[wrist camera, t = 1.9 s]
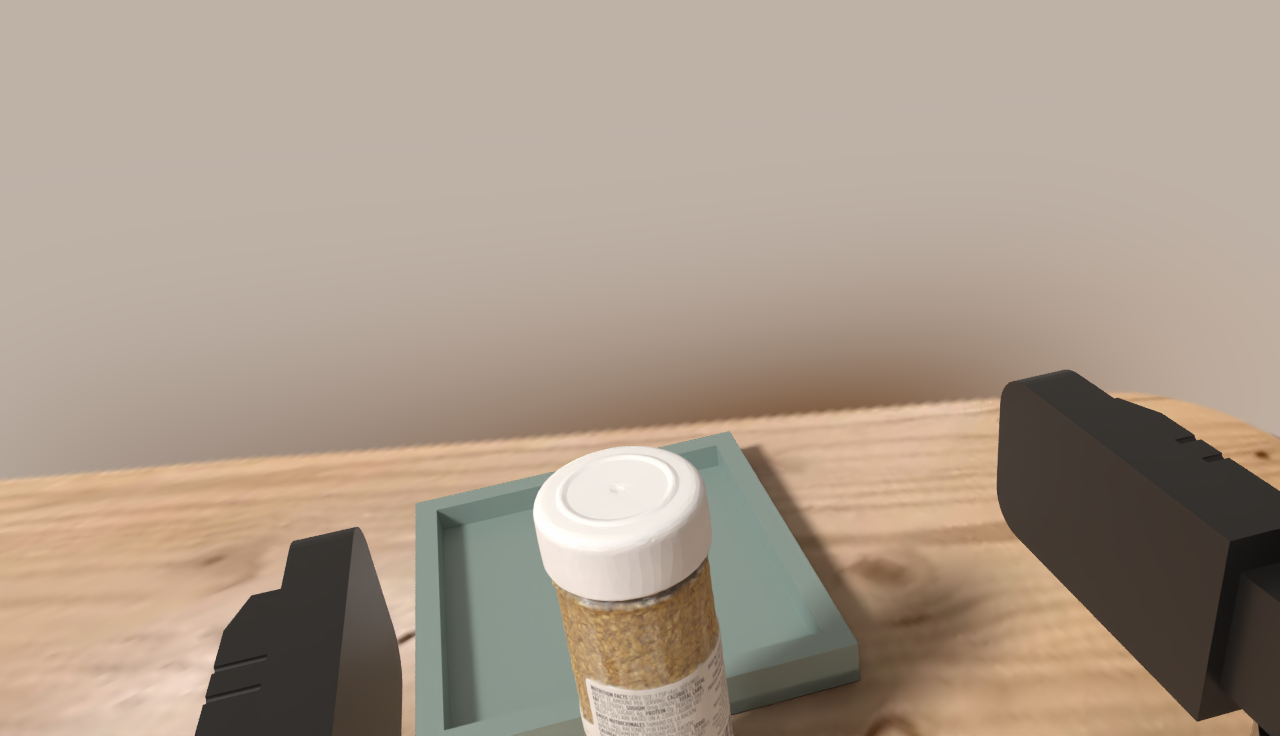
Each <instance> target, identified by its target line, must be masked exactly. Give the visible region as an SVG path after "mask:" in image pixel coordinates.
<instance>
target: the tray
mask: <svg viewBox="0 0 1280 736" xmlns="http://www.w3.org/2000/svg"><path fill="white" fill-rule="evenodd" d="M659 449H664V450H667V451H671V452H673V453H675V454H677V455H680V456H682V457H683V458H685V459H686V460H688V461H689V462H690V463H691V464H693V465H694V466H695V467H696V469H697V470H698V471H699V473H700V474H701V476H702V478H703V481H704V484H705V488H706V494H707V499H708V505H709V512H710V520H711V527H712V542H711V546H710V549H709V552H708V560H709V565H710V575H711V581H712V591H713V595H714V605H715V611H716V615H717V618H718V621H719V626H720V633H721V641H722V649H723V657H724V665H725V673H726V681H727V689H728V697H729V705H730V712H731V715H732V714H736V713H740V712H744V711H747V710H751V709H755V708H758V707H762V706H766V705H770V704H773V703H777V702H781V701H784V700H788V699H792V698H796V697H799V696H803V695H807V694H810V693H814V692H818V691H822V690H825V689H829V688H833V687H836V686H840V685H844V684H848V683H851V682H855V681H859V680H860V667H859V643H858V642H857V640H856V638H855V637H854V635H853V634H852V632H851V630H850V629H849V627H848V625H847V624H846V622H845V620H844V619H843V617H842V615H841V614H840V612H839V610H838V609H837V607H836V606H835V604H834V602H833V601H832V599H831V597H830V596H829V594H828V592H827V591H826V589H825V587H824V586H823V584H822V582H821V581H820V579H819V578H818V576H817V574H816V573H815V571H814V569H813V568H812V566H811V564H810V563H809V561H808V559H807V558H806V556H805V555H804V553H803V551H802V550H801V548H800V546H799V545H798V543H797V541H796V540H795V538H794V536H793V535H792V533H791V531H790V530H789V528H788V527H787V525H786V523H785V522H784V520H783V518H782V517H781V515H780V513H779V512H778V510H777V508H776V507H775V505H774V503H773V502H772V500H771V499H770V497H769V495H768V494H767V492H766V490H765V489H764V487H763V485H762V484H761V482H760V480H759V479H758V477H757V475H756V474H755V472H754V471H753V469H752V467H751V466H750V464H749V462H748V461H747V459H746V457H745V456H744V454H743V452H742V451H741V449H740V448H739V446H738V444H737V443H736V441H735V439H734V438H733V436H732V434H731V433H730V431H729V432H724V433H720V434H716V435H711V436H707V437H703V438H698V439H694V440H690V441H685V442H681V443H677V444H672V445H668V446H664V447H659ZM555 472H556V471H555ZM555 472H550V473H546V474H542V475H537V476H533V477H529V478H524V479H520V480H516V481H511V482H507V483H503V484H498V485H494V486H490V487H485V488H481V489H476V490H472V491H468V492H463V493H459V494H455V495H450V496H446V497H442V498H437V499H433V500H429V501H424V502H420V503H416V651H415V736H585V731H584V726H583V722H582V718H581V713H580V705H579V694H578V691H577V686H576V681H575V676H574V672H573V669H572V663H571V656H570V652H569V650H568V643H567V638H566V635H565V630H564V626H563V620H562V615H561V610H560V605H559V601H558V596H557V590H556V587H554V586H553V584H552V579H551V577H550V576H549V575H548V573H547V572H546V570H545V568H544V565H543V561H542V557H541V552H540V548H539V544H538V539H537V534H536V529H535V523H534V517H533V508H534V502H535V499H536V496H537V494H538V491H539V490H540V488H541V487H542V485H543V484H544V482H545V481H546V480H547V479H548V478H549V477H550V476H551V475H553V474H554V473H555Z"/></svg>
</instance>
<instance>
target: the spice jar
mask: <svg viewBox="0 0 1280 736" xmlns="http://www.w3.org/2000/svg"><path fill="white" fill-rule="evenodd" d="M533 517H534V523H535V529H536V534H537V539H538V544H539V548H540V552H541V557H542V561H543V565H544V568H545V570H546V572H547V573H548V575H549V576H550V577H551V579H552V584H553V586H554V587H556V590H557V596H558V601H559V605H560V610H561V615H562V620H563V626H564V630H565V635H566V638H567V643H568V650H569V652H570V656H571V663H572V669H573V672H574V676H575V681H576V686H577V691H578V694H579V705H580V713H581V718H582V722H583V726H584V731H585V736H733V728H732V721H731V712H730V705H729V697H728V689H727V681H726V673H725V665H724V657H723V649H722V641H721V633H720V626H719V621H718V618H717V615H716V611H715V605H714V595H713V591H712V581H711V575H710V565H709V560H708V552H709V549H710V546H711V542H712V527H711V520H710V512H709V505H708V499H707V494H706V488H705V484H704V481H703V478H702V476H701V474H700V473H699V471H698V470H697V469H696V467H695V466H694V465H693V464H691V463H690V462H689V461H688V460H686V459H685V458H683V457H682V456H680V455H677V454H675V453H673V452H671V451H667V450H664V449H659V448H654V447H645V446H623V447H615V448H609V449H604V450H600V451H597V452H593V453H590V454H587V455H585V456H582V457H580V458H578V459H575V460H573V461H571V462H570V463H568V464H566V465H565V466H563V467H562V468H560V469H559V470H557V471H556V472H555V473H554V474H553V475H551V476H550V477H549V478H548V479H547V480H546V481H545V482H544V484H543V485H542V487H541V488H540V490H539V491H538V494H537V496H536V499H535V502H534V508H533Z"/></svg>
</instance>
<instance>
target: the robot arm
mask: <svg viewBox="0 0 1280 736" xmlns="http://www.w3.org/2000/svg"><path fill="white" fill-rule="evenodd" d="M997 496H998V501H999V505H1000V508H1001V511H1002V514H1003V516H1004V518H1005V521H1006V522H1007V524H1008V526H1009V528H1010V529H1011V531H1012V532H1013V533H1014V534H1015V535H1016V537H1017V538H1018V539H1019V540H1020V541H1021V542H1022V543H1023V544H1024V545H1025V546H1026V547H1027V548H1028V549H1029V550H1030V551H1031V552H1032V553H1033V554H1034V555H1035V556H1036V557H1037V558H1038V559H1039V560H1040V561H1041V562H1042V563H1043V564H1044V565H1045V566H1046V567H1047V568H1048V569H1049V570H1050V571H1051V572H1052V573H1053V575H1054V576H1055V577H1056V578H1057V579H1058V580H1059V581H1060V582H1061V583H1062V584H1063V585H1064V586H1065V587H1066V588H1067V589H1068V590H1069V591H1070V592H1071V593H1072V594H1073V595H1074V596H1075V597H1076V598H1077V599H1078V600H1079V601H1080V602H1081V603H1082V604H1083V605H1084V606H1085V607H1086V608H1087V609H1088V610H1089V611H1090V612H1091V613H1092V614H1093V616H1094V617H1095V618H1096V619H1097V620H1098V621H1099V622H1100V623H1101V624H1102V625H1103V626H1104V627H1105V628H1106V629H1107V630H1108V631H1109V632H1110V633H1111V634H1112V635H1113V636H1114V637H1115V638H1116V639H1117V640H1118V641H1119V642H1120V643H1121V644H1122V645H1123V646H1124V647H1125V648H1126V649H1127V650H1128V651H1129V652H1130V653H1131V654H1132V655H1133V657H1134V658H1135V659H1136V660H1137V661H1138V662H1139V663H1140V664H1141V665H1142V666H1143V667H1144V668H1145V669H1146V670H1147V671H1148V672H1149V673H1150V674H1151V675H1152V676H1153V677H1154V678H1155V679H1156V680H1157V681H1158V682H1159V683H1160V684H1161V685H1162V686H1163V687H1164V688H1165V689H1166V690H1167V691H1168V692H1169V693H1170V694H1171V695H1172V696H1173V698H1174V699H1175V700H1176V701H1177V702H1178V703H1179V704H1180V705H1181V706H1182V707H1183V708H1184V709H1185V710H1186V711H1187V712H1188V713H1189V714H1190V715H1191V716H1192V717H1193V718H1194V719H1195V720H1196V721H1197V722H1198V721H1201V720H1205V719H1208V718H1212V717H1216V716H1219V715H1223V714H1226V713H1230V712H1233V711H1237V710H1240V709H1243V710H1244V711H1245V712H1246V713H1247V714H1248V715H1249V716H1250V717H1251V718H1252V719H1253V720H1254V721H1253V726H1252V730H1251V735H1250V736H1280V491H1279V490H1277V489H1276V488H1274V487H1273V486H1271V485H1270V484H1268V483H1267V482H1265V481H1264V480H1262V479H1261V478H1259V477H1258V476H1256V475H1254V474H1253V473H1251V472H1250V471H1248V470H1247V469H1245V468H1244V467H1242V466H1241V465H1239V464H1238V463H1236V462H1235V461H1233V460H1232V459H1230V458H1226V459H1224V458H1223V457H1222V453H1221V452H1220V451H1218V450H1217V449H1215V448H1213V447H1212V446H1210V445H1209V444H1207V443H1206V442H1204V441H1203V440H1196V439H1195V435H1194V434H1192V433H1191V432H1189V431H1188V430H1186V429H1185V428H1183V427H1182V426H1180V425H1179V424H1177V423H1176V422H1174V421H1173V420H1171V419H1169V418H1168V417H1166V416H1165V415H1163V414H1162V413H1159V412H1157V411H1154V410H1151V409H1148V408H1145V407H1142V406H1140V405H1137V404H1134V403H1131V402H1128V401H1125V400H1123V399H1120V398H1115V399H1114V398H1113V397H1111V396H1110V395H1108V394H1107V393H1105V392H1104V391H1102V390H1101V389H1099V388H1098V387H1097V386H1095V385H1094V384H1092V383H1090V382H1089V381H1088V380H1086V379H1085V378H1083V377H1082V376H1080V375H1079V374H1077V373H1076V372H1074V371H1071V370H1061V371H1057V372H1052V373H1048V374H1044V375H1039V376H1035V377H1031V378H1026V379H1021V380H1017V381H1013V382H1010V383H1008V384H1007V385H1006V386H1005V388H1004V390H1003V392H1002V395H1001V402H1000V422H999V445H998V467H997ZM214 670H215V673H214V674H212V675H211V678H210V682H209V686H208V689H207V693H206V696H205V698H206V704H205V705H203V707H202V711H201V714H200V718H199V722H198V725H197V729H196V732H195V736H401V722H402V669H401V661H400V654H399V648H398V643H397V639H396V635H395V631H394V627H393V624H392V621H391V618H390V615H389V612H388V608H387V605H386V602H385V599H384V596H383V593H382V589H381V586H380V583H379V580H378V577H377V574H376V570H375V567H374V564H373V561H372V558H371V555H370V551H369V548H368V545H367V542H366V539H365V537H364V535H363V533H362V531H361V529H360V528H359V527H354V528H350V529H345V530H341V531H336V532H332V533H327V534H323V535H318V536H314V537H309V538H305V539H301V540H296V541H293V542H292V543H291V545H290V548H289V553H288V558H287V562H286V567H285V572H284V577H283V582H282V586H281V589H278V590H274V591H269V592H265V593H261V594H256V595H252V596H251V597H250V598H249V599H248V601H247V602H246V603H245V604H244V606H243V607H242V608H241V609H240V611H239V612H238V613H237V615H236V616H235V617H234V618H233V620H232V621H231V622H230V623H229V625H228V626H227V627H226V629H225V630H224V631H223V635H222V639H221V642H220V646H219V649H218V653H217V657H216V660H215V664H214Z"/></svg>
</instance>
